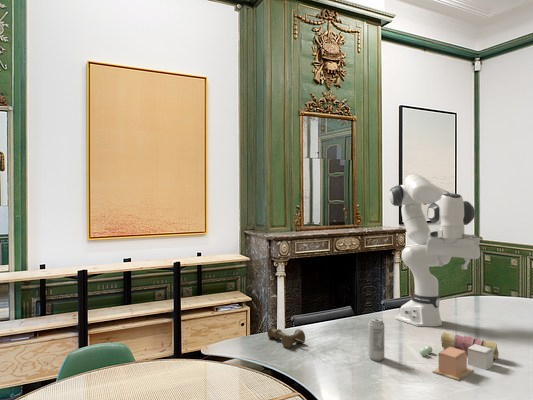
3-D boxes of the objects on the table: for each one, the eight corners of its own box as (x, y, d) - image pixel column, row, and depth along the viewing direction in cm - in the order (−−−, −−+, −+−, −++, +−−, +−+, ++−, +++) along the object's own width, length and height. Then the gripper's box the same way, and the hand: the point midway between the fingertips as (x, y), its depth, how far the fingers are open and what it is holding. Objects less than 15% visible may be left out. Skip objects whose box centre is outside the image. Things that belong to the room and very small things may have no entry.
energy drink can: (380, 354, 156) (379, 316, 156) (387, 360, 150) (387, 321, 150) (365, 355, 155) (365, 317, 155) (372, 361, 149) (372, 322, 149)
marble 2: (423, 353, 158) (422, 345, 158) (426, 351, 160) (426, 343, 160) (430, 355, 156) (430, 347, 156) (433, 353, 158) (433, 345, 158)
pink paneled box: (438, 371, 140) (438, 352, 140) (449, 364, 146) (449, 346, 146) (455, 376, 135) (455, 357, 136) (466, 369, 141) (466, 351, 141)
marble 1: (418, 355, 155) (418, 348, 155) (422, 353, 157) (421, 346, 157) (425, 357, 153) (425, 350, 153) (429, 355, 155) (429, 348, 155)
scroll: (500, 352, 154) (447, 340, 168) (498, 337, 152) (444, 326, 165) (496, 366, 149) (441, 353, 163) (494, 351, 147) (439, 338, 160)
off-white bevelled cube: (467, 364, 147) (467, 348, 147) (474, 359, 151) (474, 343, 151) (486, 369, 142) (486, 353, 142) (493, 364, 147) (493, 348, 147)
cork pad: (432, 372, 140) (432, 371, 140) (447, 363, 148) (447, 361, 148) (458, 381, 133) (458, 379, 133) (473, 371, 141) (473, 369, 141)
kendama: (278, 336, 180) (312, 346, 166) (263, 341, 173) (297, 353, 159) (277, 322, 180) (311, 332, 166) (262, 328, 173) (296, 338, 159)
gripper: (482, 234, 153) (483, 270, 153) (431, 231, 168) (431, 264, 168) (476, 235, 149) (476, 272, 149) (424, 232, 164) (424, 265, 164)
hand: (452, 267), depth 159 cm, fingers open, 8 cm apart
